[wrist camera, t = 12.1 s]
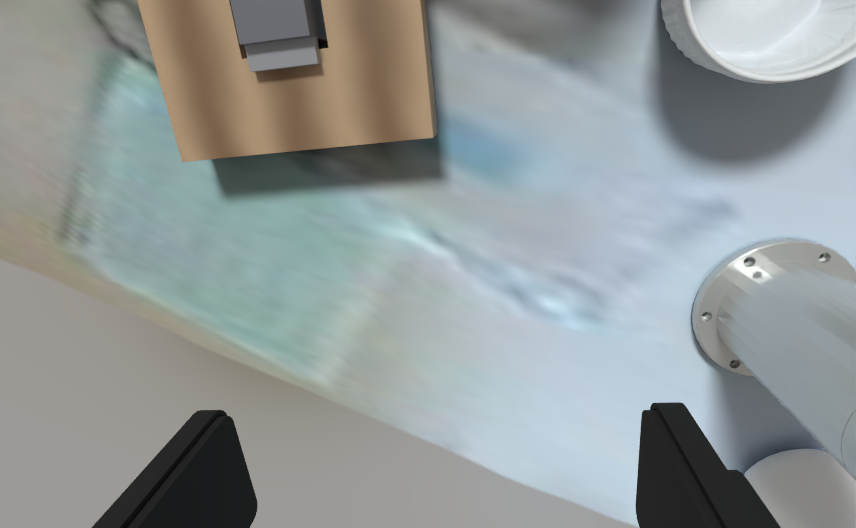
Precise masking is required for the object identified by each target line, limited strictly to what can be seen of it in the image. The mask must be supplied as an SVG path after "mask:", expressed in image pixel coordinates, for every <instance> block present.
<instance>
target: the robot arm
mask: <svg viewBox="0 0 856 528" xmlns="http://www.w3.org/2000/svg"><path fill="white" fill-rule="evenodd" d="M745 259H746V260H745ZM692 323H693V330H694V333H695V336H696V339H697V341H698V342H699V344H700V346H701V347H702V349H703V350H704V351H705V352H706V353H707V354H708V356H709V357H710V358H711V359H712V360H714V361H715V362H716V363H717V364H718V365H720V366H721V367H723V368H725V369H727V370H729V371H731V372H734V373H737V374H740V375H744V376H750V377H755V378H756V379H757V380H758V381H759V382H760V383H761V384H762V385H763V386H764V387H765V388H766V389H767V390H768V391H769V392H770V393H771V394H772V395H773V396H774V397H775V398H776V399H777V400H778V401H779V402H780V403H781V404H782V405H783V406H784V407H785V408H786V409H787V410H788V412H789V413H790V414H791V415H792V416H793V417H794V418H795V419H796V420H797V421H798V422H799V423H800V424H801V425H802V426H803V427H804V428H805V429H806V430H807V431H808V432H809V433H810V434H811V435H812V436H813V437H814V438H815V439H816V440H817V441H818V442H819V443H820V444H821V446H822V447H823V448H824V449H825V450H826V451H827V452H828V453H829V454H830V455H831V456H832V457H833V458H834V459H835V460H836V461H837V462H838V463H839V464H840V465H841V466H842V467H843V468H844V469H845V470H846V471H847V472H848V473H849V474H850V475H851V476H852V477H853V478H854V479H855V480H856V271H855V269H854V268H853V267H852V265H851V264H850V263H849V262H848V261H847V260H846V259H845V258H844V257H843V256H841V255H840V254H838V253H837V252H836V251H834V250H832V249H830V248H828V247H826V246H823V245H821V244H818V243H815V242H812V241H808V240H802V239H793V238H787V239H773V240H769V241H764V242H760V243H757V244H754V245H752V246H749V247H747V248H744V249H742V250H740V251H738V252H737V253H735V254H733V255H732V256H730V257H728V258H727V259H726V260H725V261H723V262H722V263H721V264H720V265H718V266H717V267H716V268H715V269H714V270H713V271H712V273H711V274H710V275H709V276H708V277H707V278H706V280H705V281H704V283H703V284H702V286H701V288H700V289H699V291H698V294H697V296H696V299H695V302H694V306H693V312H692ZM256 512H257V499H256V496H255V493H254V489H253V486H252V482H251V479H250V475H249V472H248V469H247V465H246V462H245V459H244V455H243V452H242V449H241V445H240V442H239V438H238V435H237V432H236V428H235V425H234V421H233V419H232V418H231V417H229V416H227V414H226V413H225V412H224V411H222V410H200V411H197V412H196V413H194V414H193V415H192V416H191V418H190V419H189V420H188V421H187V422H186V423H185V424H184V425H183V426H182V428H181V429H180V430H179V431H178V432H177V433H176V434H175V435H174V436H173V438H172V439H171V440H170V441H169V442H168V443H167V444H166V445H165V447H164V448H163V449H162V450H161V451H160V452H159V453H158V454H157V456H156V457H155V458H154V459H153V460H152V461H151V462H150V463H149V464H148V466H147V467H146V468H145V469H144V470H143V471H142V472H141V473H140V474H139V476H138V477H137V478H136V479H135V480H134V481H133V482H132V484H130V486H129V487H128V488H127V489H126V490H125V491H124V492H123V493H122V494H121V496H120V497H119V498H118V499H117V500H116V501H115V502H114V503H113V505H112V506H111V507H110V508H109V509H108V510H107V511H106V512H105V513H104V515H103V516H102V517H101V518H100V519H99V520H98V521H97V522H96V523H95V525H94V526H93V527H92V528H250V525H251V524H252V522H253V520H254V518H255V516H256ZM636 514H637V520H638V523H639V527H640V528H781V527H780V526H779V524H778V523H777V521H776V520H775V518H774V517H773V516H772V514H771V513H770V511H769V510H768V508H767V507H766V505H765V504H764V503H763V501H762V500H761V498H760V497H759V495H758V494H757V492H756V491H755V490H754V488H753V487H752V485H751V484H750V482H749V481H748V480H747V478H746V477H745V476H744V475H743V474H742V473H741V472H739V471H737V470H727V469H726V467H725V466H724V464H723V463H722V461H721V460H720V458H719V456H718V455H717V453H716V452H715V450H714V449H713V447H712V446H711V444H710V443H709V441H708V440H707V438H706V437H705V435H704V434H703V432H702V431H701V429H700V428H699V426H698V425H697V423H696V421H695V420H694V418H693V417H692V415H691V414H690V412H689V411H688V409H687V408H686V406H685V405H684V404H683V403H653V404H652V405H651V408H650V410H644V411H643V412H642V420H641V434H640V449H639V464H638V479H637V494H636Z"/></svg>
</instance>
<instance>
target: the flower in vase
mask: <svg viewBox="0 0 856 528" xmlns="http://www.w3.org/2000/svg"><path fill="white" fill-rule="evenodd" d="M744 476H745V477H746V478H747V480H748V481H749V482H750V484H751V485H752V487H753V488H754V490H755V491H756V492H757V494H758V495H759V497H760V498H761V500H762V501H763V503H764V504H765V505H766V507H767V508H768V510H769V511H770V513H771V514H772V516H773V517H774V518H775V520H776V521H777V523H778V524H779V526H780V527H781V528H856V480H855V479H854V478H853V477H852V476H851V475H850V474H849V473H848V472H847V471H846V470H845V469H844V468H843V467H842V466H841V465H840V464H839V463H838V462H837V461H836V460H835V459H834V458H833V457H832V456H831V455H830V454H829V453H828V452H826V451H822V450H816V449H793V450H787V451H782V452H778V453H776V454H773V455H770V456H768V457H766V458H764V459H762V460H760V461H758V462H757V463H756V464H754V465H753V466H751V467H750V468H749V469H748V470H747V471H746V472H745V473H744Z"/></svg>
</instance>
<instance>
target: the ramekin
mask: <svg viewBox="0 0 856 528" xmlns="http://www.w3.org/2000/svg"><path fill="white" fill-rule="evenodd" d="M661 8H662V12H663V20H664V22H665V25H666V30H667V31H668V32H669V34H670V38H671V40H672V41H673V42H675V43H676V46H677V48H678V49H679V50H681V51H682V52H683V54H684V56H686V57H688V58H690V59H691V60H692V62H693V63H695V64H698V65H701V66H702V67H703V68H705V69H709V70H712V71H715V72H718V73H722V74H724V75H726V76H729V77H731V78H734V79H737V80H741V81H745V82H750V83H761V84H773V83H784V82H793V81H799V80H804V79H808V78H811V77H815V76H818V75H821V74H824V73H827V72H829V71H831V70H834V69H836V68H838V67H840V66H842V65H844V64H846V63H848V62H849V61H851V60H853V59H854V58H856V0H661Z"/></svg>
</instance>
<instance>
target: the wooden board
mask: <svg viewBox="0 0 856 528" xmlns="http://www.w3.org/2000/svg"><path fill="white" fill-rule="evenodd" d="M137 1H138V5H139V8H140V12H141V15H142V19H143V23H144V26H145V30H146V33H147V37H148V41H149V44H150V48H151V51H152V55H153V59H154V62H155V66H156V69H157V73H158V77H159V80H160V84H161V87H162V91H163V95H164V98H165V102H166V105H167V109H168V113H169V116H170V120H171V123H172V127H173V131H174V134H175V138H176V141H177V145H178V149H179V152H180V156H181V159H182V162H187V161H197V160H208V159H218V158H229V157H239V156H249V155H260V154H270V153H280V152H291V151H301V150H311V149H322V148H332V147H343V146H353V145H363V144H374V143H384V142H394V141H405V140H415V139H425V138H434V137H435V136H436V135H437V134H438V128H437V117H436V106H435V95H434V84H433V73H432V62H431V51H430V40H429V29H428V18H427V7H426V0H321V4H322V10H323V16H324V23H325V29H326V35H327V41H328V44H321V45H318V46H319V52H320V58H321V64H319V65H311V66H303V67H294V68H286V69H278V70H270V71H262V72H250V68H249V63H248V59H247V54H246V49H245V45H240V43H239V39H238V34H237V30H236V25H235V20H234V16H233V11H232V7H231V2H230V0H137Z"/></svg>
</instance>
